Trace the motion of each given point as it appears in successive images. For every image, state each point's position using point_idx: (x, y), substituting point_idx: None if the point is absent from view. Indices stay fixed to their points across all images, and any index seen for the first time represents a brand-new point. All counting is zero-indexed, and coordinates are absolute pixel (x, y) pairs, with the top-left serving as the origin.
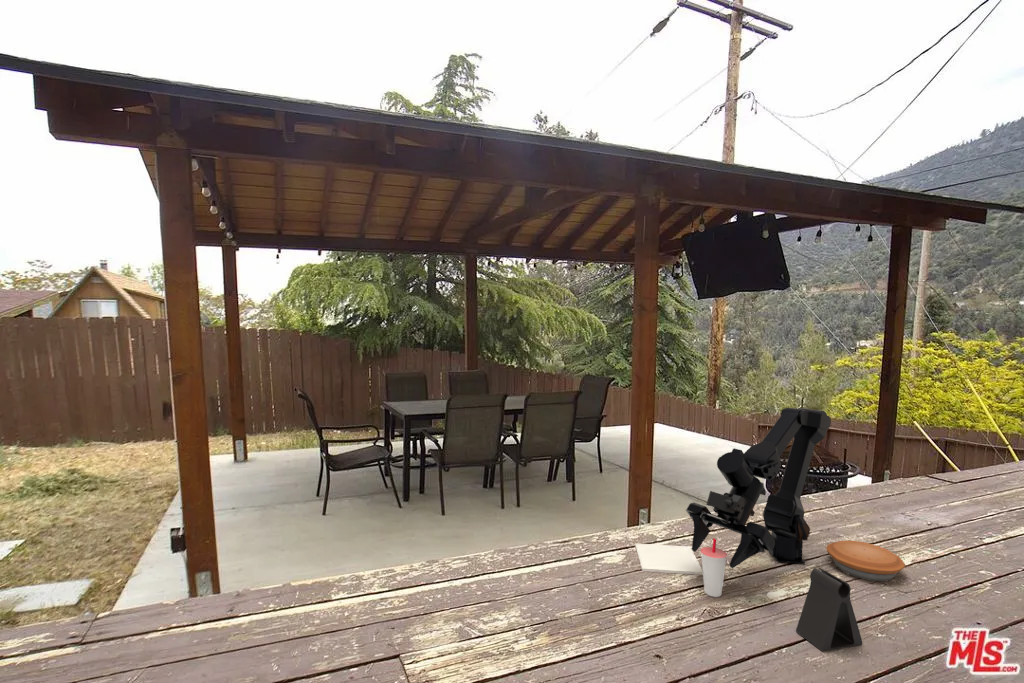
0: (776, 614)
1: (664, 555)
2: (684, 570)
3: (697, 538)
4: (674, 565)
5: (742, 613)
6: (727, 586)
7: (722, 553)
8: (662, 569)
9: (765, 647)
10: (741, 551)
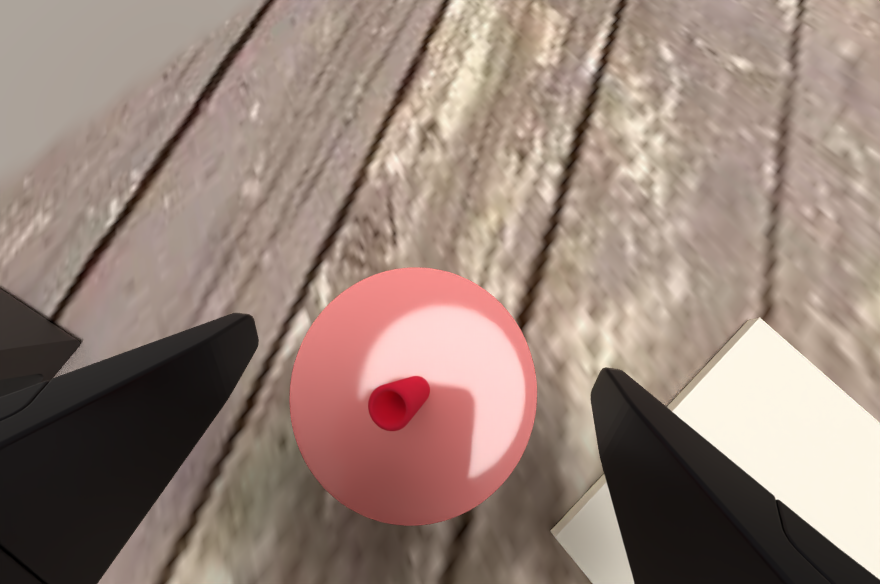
0: None
1: None
2: None
3: (667, 461)
4: None
5: (277, 318)
6: None
7: (341, 431)
8: (701, 386)
9: (164, 181)
10: (21, 390)
